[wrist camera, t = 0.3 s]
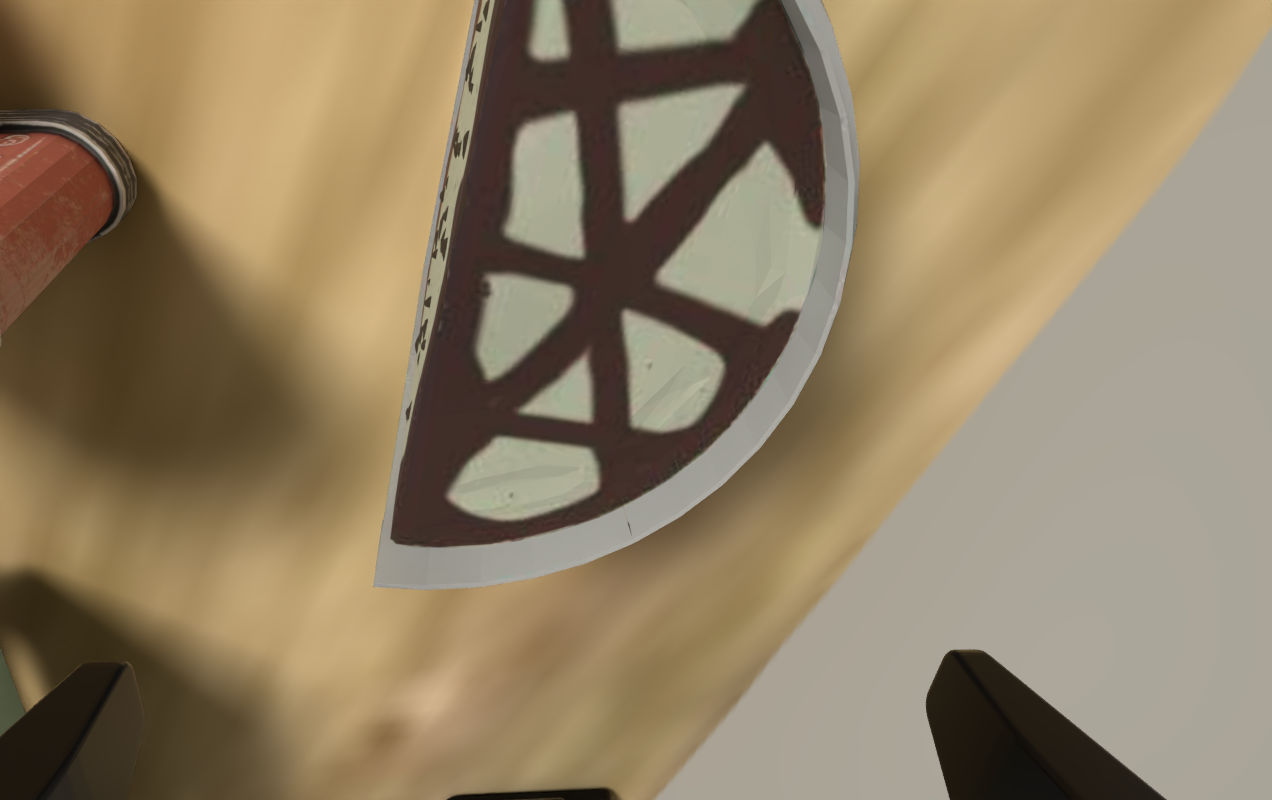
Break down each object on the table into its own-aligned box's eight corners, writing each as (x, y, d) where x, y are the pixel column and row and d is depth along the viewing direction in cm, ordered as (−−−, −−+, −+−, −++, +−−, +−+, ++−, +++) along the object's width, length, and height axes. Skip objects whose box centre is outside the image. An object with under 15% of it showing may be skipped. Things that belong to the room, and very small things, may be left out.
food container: (641, 363, 25) (716, 647, 16) (413, 318, 23) (368, 610, 15) (817, -141, 18) (1080, -94, 10) (521, -250, 17) (548, -300, 8)
